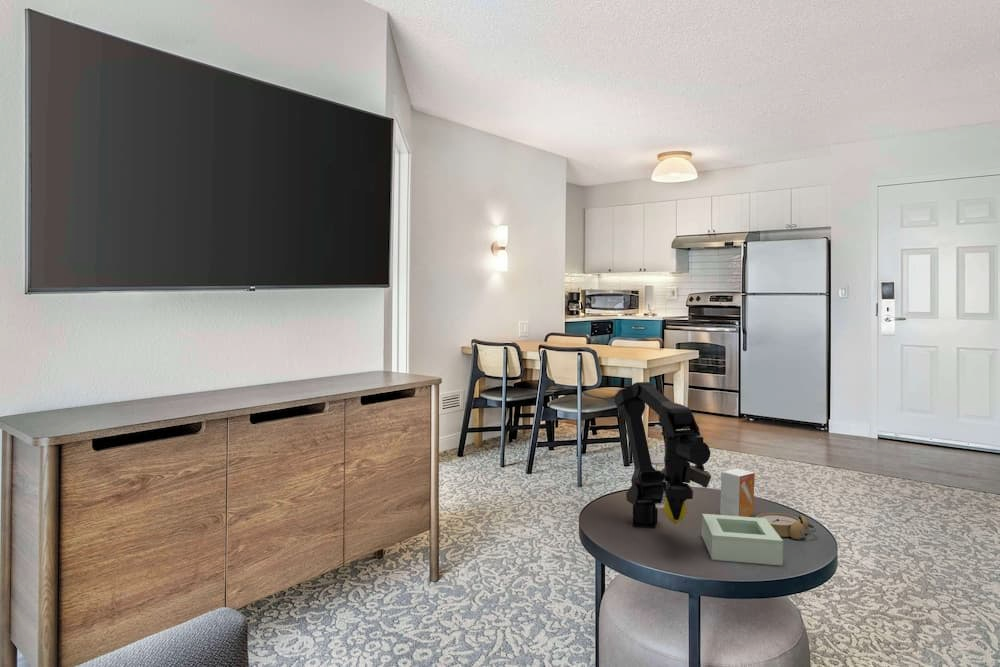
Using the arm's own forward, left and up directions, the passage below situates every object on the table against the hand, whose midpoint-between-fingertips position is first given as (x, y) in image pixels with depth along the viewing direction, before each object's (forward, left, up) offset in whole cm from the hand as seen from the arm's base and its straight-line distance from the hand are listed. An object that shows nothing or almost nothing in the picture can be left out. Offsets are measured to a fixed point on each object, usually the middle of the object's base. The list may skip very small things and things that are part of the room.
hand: (675, 515), depth 151 cm
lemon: (0, 0, -2) cm, 2 cm away
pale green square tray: (+16, 0, -8) cm, 18 cm away
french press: (-3, +34, -8) cm, 35 cm away
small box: (+21, +28, -8) cm, 36 cm away
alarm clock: (+31, +16, -8) cm, 36 cm away
